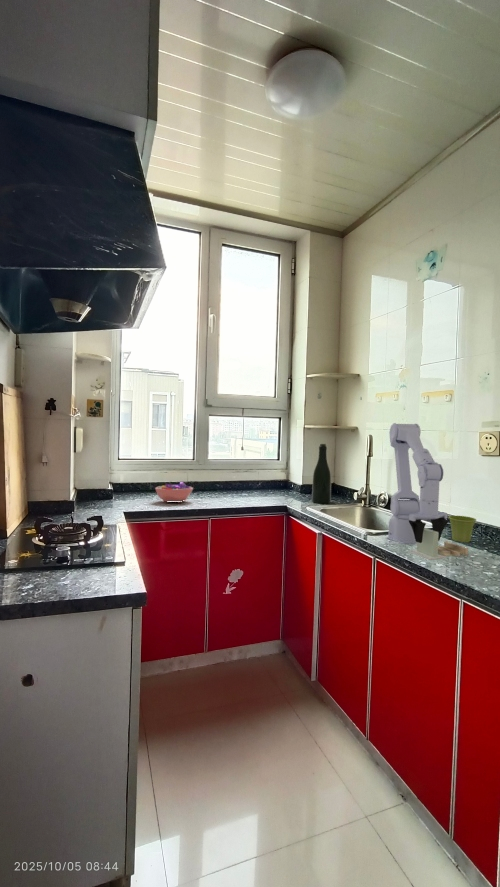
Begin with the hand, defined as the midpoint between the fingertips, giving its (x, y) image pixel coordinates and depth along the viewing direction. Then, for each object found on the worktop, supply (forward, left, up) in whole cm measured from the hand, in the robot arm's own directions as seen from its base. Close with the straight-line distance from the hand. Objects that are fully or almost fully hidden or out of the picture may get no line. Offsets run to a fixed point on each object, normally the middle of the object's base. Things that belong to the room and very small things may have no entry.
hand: (427, 541), depth 141 cm
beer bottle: (-98, +20, -5) cm, 100 cm away
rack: (0, +11, -5) cm, 12 cm away
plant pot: (-11, +28, -5) cm, 30 cm away
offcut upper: (0, +6, -4) cm, 8 cm away
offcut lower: (0, +6, -6) cm, 9 cm away
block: (0, 0, -4) cm, 4 cm away
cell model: (-118, -59, -5) cm, 132 cm away
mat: (0, 0, -5) cm, 5 cm away
